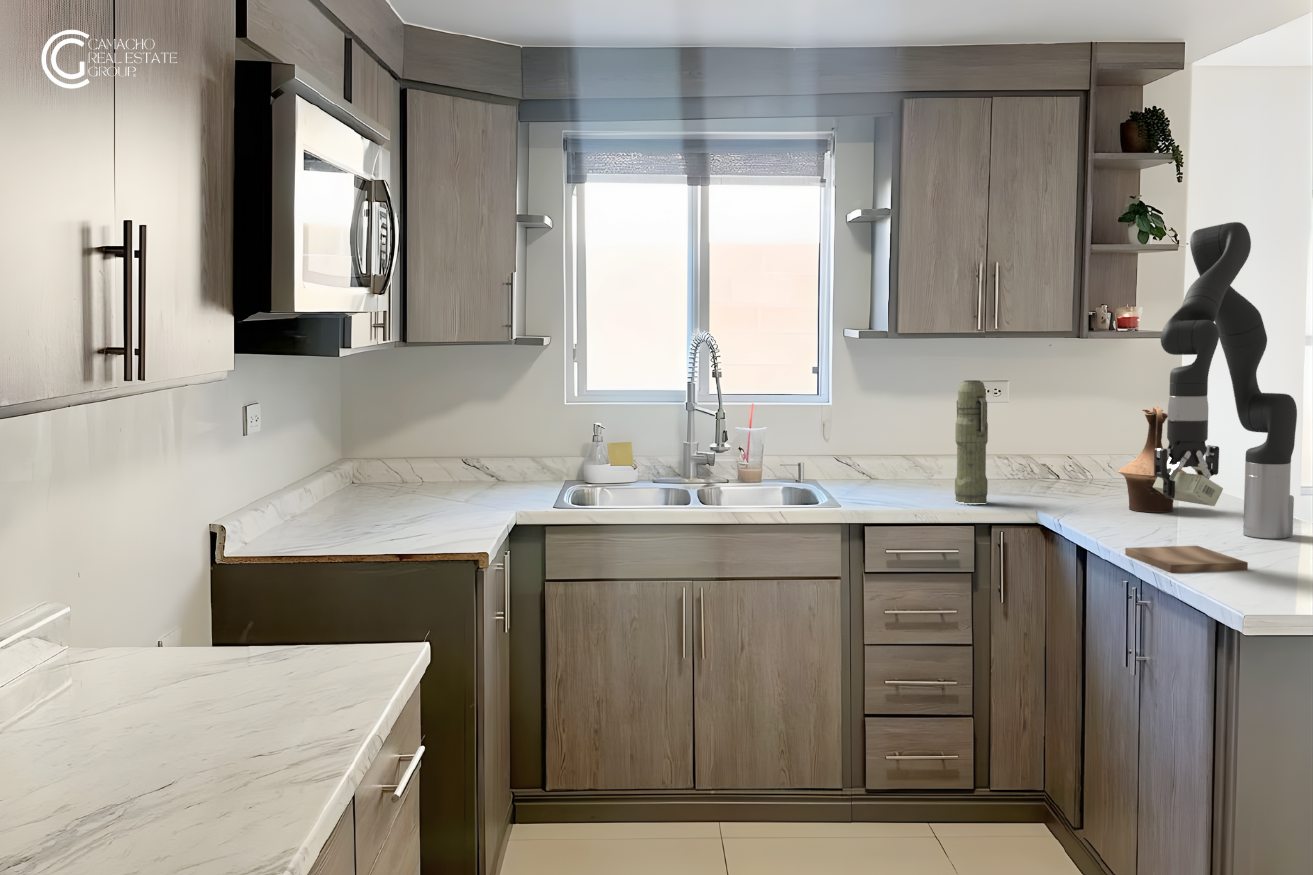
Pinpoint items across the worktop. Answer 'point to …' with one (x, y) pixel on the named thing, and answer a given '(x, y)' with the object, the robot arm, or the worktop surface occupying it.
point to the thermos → (971, 443)
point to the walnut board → (1186, 559)
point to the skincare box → (1193, 489)
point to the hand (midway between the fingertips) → (1185, 496)
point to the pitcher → (1147, 470)
